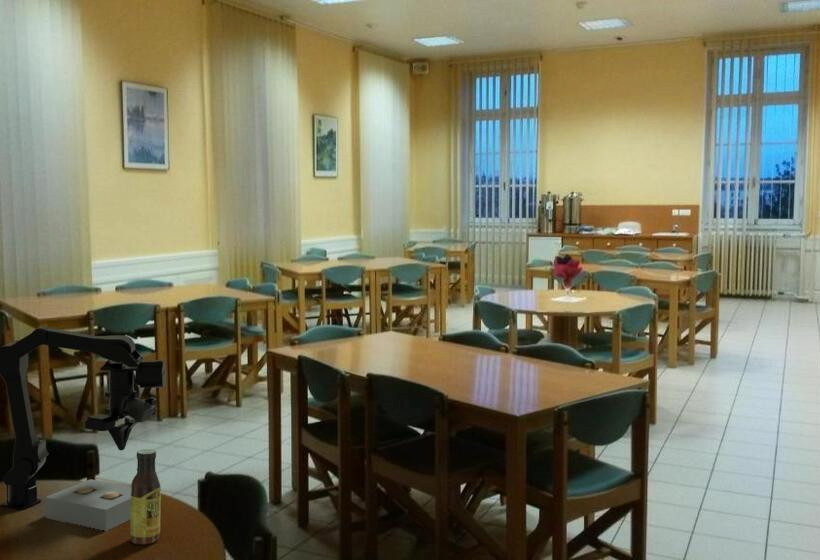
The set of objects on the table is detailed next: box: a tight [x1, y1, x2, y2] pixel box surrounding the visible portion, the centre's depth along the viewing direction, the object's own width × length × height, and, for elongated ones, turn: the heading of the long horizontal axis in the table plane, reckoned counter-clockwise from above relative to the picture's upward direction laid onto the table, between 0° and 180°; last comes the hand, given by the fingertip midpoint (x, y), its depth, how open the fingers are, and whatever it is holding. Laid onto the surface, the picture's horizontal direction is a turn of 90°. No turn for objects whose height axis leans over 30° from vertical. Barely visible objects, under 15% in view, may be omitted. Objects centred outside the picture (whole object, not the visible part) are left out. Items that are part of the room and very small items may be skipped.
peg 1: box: [77, 486, 93, 495], centre depth 187 cm, size 4×4×6 cm
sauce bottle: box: [129, 448, 162, 546], centre depth 171 cm, size 6×6×20 cm
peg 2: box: [103, 492, 119, 500], centre depth 184 cm, size 4×4×6 cm
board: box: [45, 478, 131, 532], centre depth 186 cm, size 18×14×5 cm
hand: (121, 449), depth 194 cm, fingers closed
